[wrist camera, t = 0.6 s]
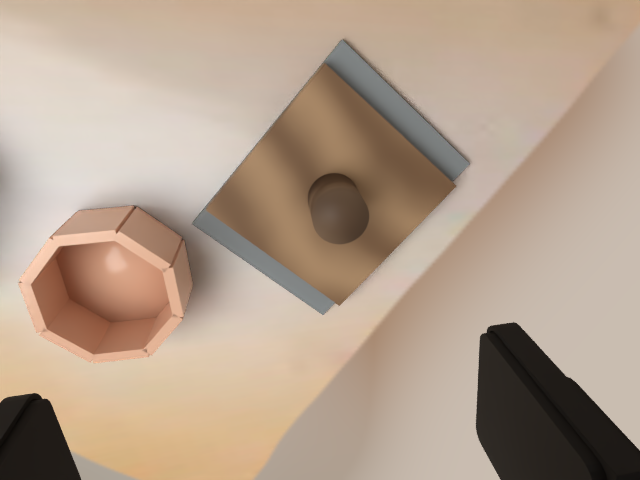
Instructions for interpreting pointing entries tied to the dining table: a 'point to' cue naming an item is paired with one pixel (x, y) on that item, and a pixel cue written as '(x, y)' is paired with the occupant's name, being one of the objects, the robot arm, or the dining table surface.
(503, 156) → the dining table surface
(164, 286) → the bowl
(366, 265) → the lid
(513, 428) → the robot arm
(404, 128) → the mat
